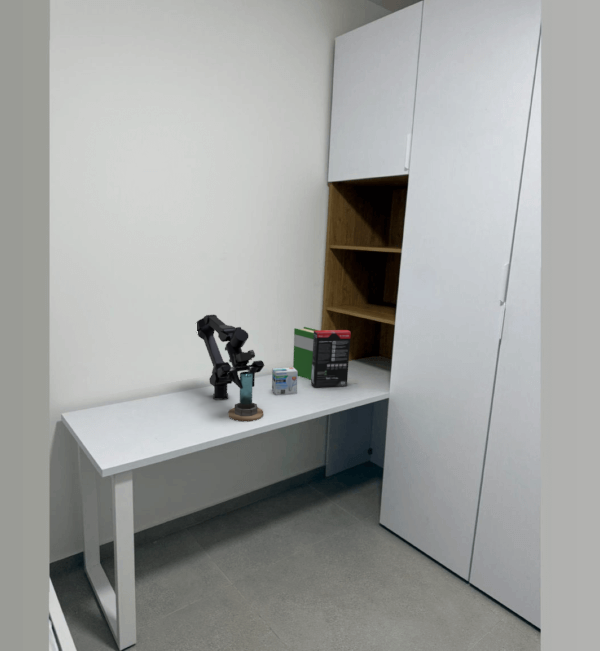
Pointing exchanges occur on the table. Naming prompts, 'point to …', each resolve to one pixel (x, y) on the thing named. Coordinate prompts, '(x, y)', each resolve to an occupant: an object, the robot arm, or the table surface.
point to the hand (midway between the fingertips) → (247, 387)
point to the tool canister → (246, 387)
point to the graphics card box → (330, 358)
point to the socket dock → (245, 412)
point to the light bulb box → (284, 380)
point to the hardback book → (303, 351)
